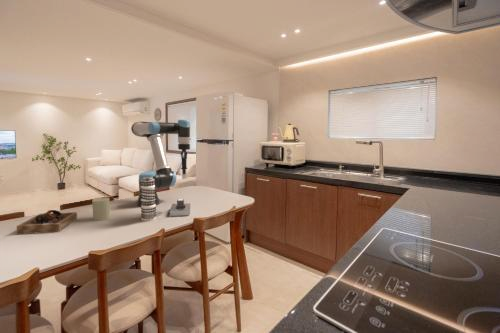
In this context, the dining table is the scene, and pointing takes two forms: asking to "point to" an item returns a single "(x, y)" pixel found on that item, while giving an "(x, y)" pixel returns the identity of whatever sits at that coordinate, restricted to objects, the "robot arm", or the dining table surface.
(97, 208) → the can
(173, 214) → the socket plate
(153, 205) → the decorative candle
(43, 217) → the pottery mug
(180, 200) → the plug
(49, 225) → the tray
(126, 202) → the dining table surface
